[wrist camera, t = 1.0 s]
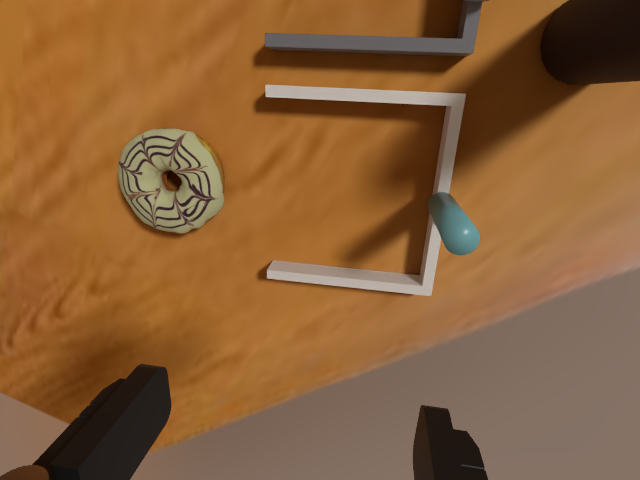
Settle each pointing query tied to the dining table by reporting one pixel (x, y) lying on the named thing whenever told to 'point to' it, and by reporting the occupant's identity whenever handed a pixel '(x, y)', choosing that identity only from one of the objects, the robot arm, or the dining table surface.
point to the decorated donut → (151, 179)
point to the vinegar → (593, 42)
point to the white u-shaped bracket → (442, 206)
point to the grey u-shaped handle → (387, 40)
